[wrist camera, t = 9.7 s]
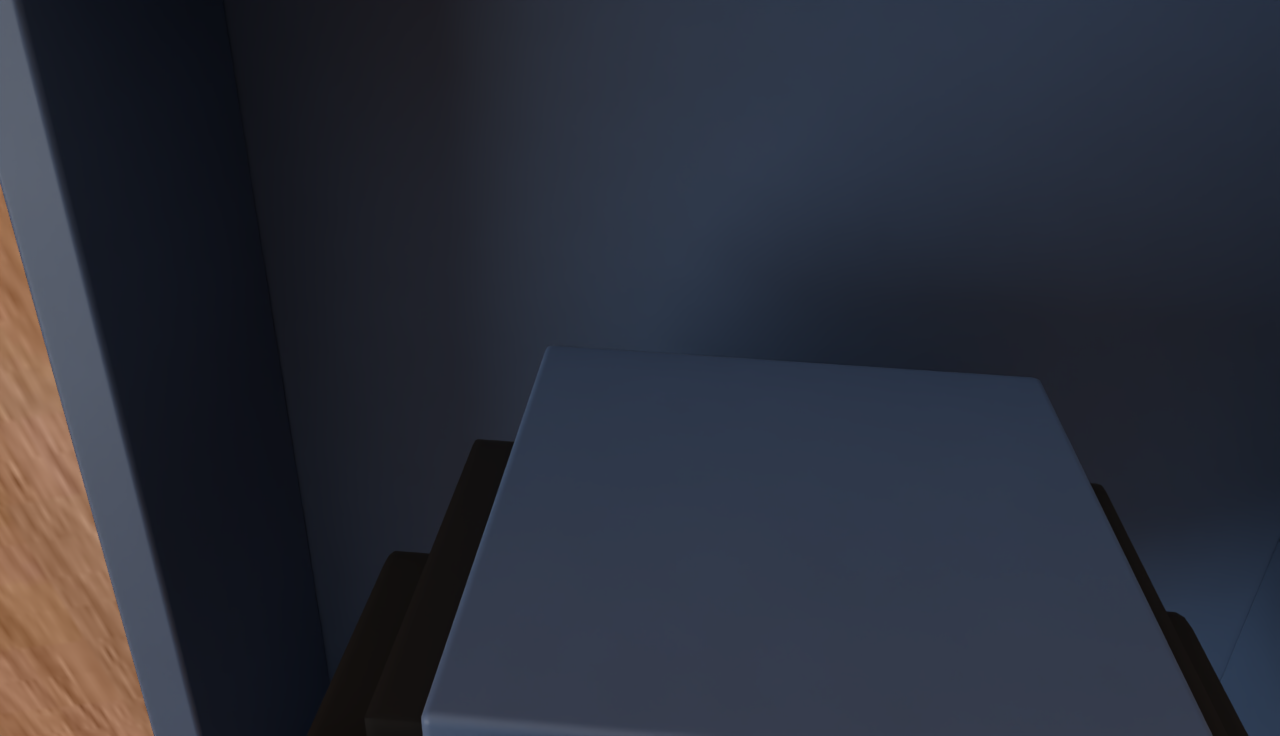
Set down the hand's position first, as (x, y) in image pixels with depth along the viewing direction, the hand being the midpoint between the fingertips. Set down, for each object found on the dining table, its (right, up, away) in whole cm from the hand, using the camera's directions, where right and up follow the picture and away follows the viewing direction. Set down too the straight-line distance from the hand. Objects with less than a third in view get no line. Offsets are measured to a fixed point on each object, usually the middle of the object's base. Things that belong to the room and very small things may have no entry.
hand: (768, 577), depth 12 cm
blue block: (0, 0, 0) cm, 0 cm away
